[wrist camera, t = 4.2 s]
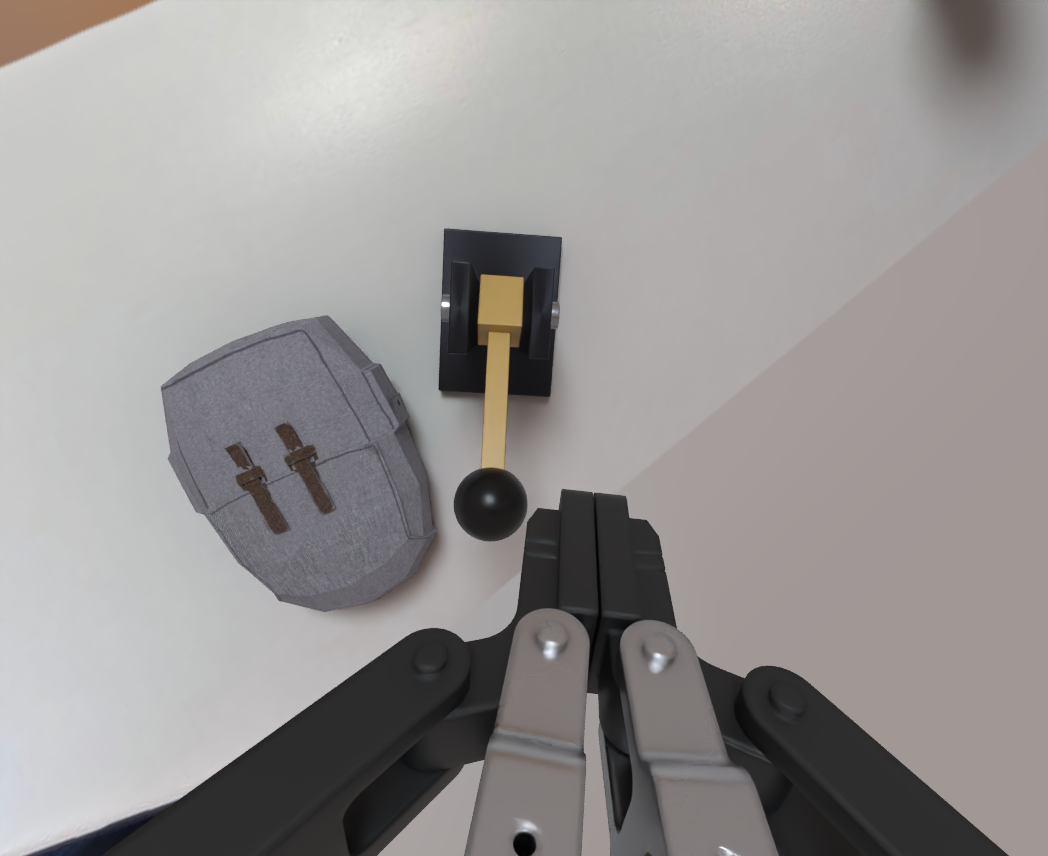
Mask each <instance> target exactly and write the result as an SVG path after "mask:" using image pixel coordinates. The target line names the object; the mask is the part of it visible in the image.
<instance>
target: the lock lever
mask: <svg viewBox="0 0 1048 856" xmlns="http://www.w3.org/2000/svg"><path fill="white" fill-rule="evenodd" d="M523 293H524V278H523V277H511V276H496V275H481V277H480V293H479V308H478V345H488V350H487V367H486V385H485V403H484V420H483V438H482V456H481V469H478V470H476V471H474V472H472V473H470V474H469V475H468V476H466V477H465V478H464V479H463V481H462V482H461V483H460V485H459V487H458V488H457V491H456V494H455V498H454V512H455V516H456V518H457V521H458V523H459V524H460V526H461V527H462V528H463V530H465V531H466V532H467V533H468V534H469V535H471V536H472V537H474V538H476V539H479V540H482V541H499V540H502V539H505V538H507V537H509V536H510V535H512V534H513V533H514V532H515V531H517V529H518V528H519V527H520V526H521V524H522V523H523V521H524V519H525V516H526V512H527V495H526V492H525V489H524V487H523V485H522V484H521V482H520V481H519V480H518V479H517V478H516V477H515V476H514V475H513V474H511V473H510V472H508V471H506V470H505V447H506V424H507V400H508V377H509V354H510V347H519V344H520V338H521V331H522V321H523Z"/></svg>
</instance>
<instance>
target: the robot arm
mask: <svg viewBox="0 0 1048 856" xmlns="http://www.w3.org/2000/svg"><path fill="white" fill-rule="evenodd" d="M587 693H594V694H598V699H599V719H600V724H599V742H600V751H601V760H602V769H603V778H604V788H605V796H606V805H607V813H608V823H609V832H610V856H1008V855H1007V854H1006V853H1005V852H1004V851H1003V850H1002V849H1000V848H999V847H998V846H997V845H996V844H995V843H993V842H992V841H991V840H990V839H989V838H988V837H987V836H985V835H984V834H983V833H982V832H981V831H980V830H978V829H977V828H976V827H975V826H974V825H973V824H971V823H970V822H969V821H968V820H967V819H966V818H965V817H963V816H962V815H961V814H960V813H959V812H958V811H956V810H955V809H954V808H953V807H952V806H951V805H950V804H948V803H947V802H946V801H945V800H944V799H943V798H941V797H940V796H939V795H938V794H937V793H936V792H935V791H933V790H932V789H931V788H930V787H929V786H928V785H926V784H925V783H924V782H923V781H922V780H921V779H919V778H918V777H917V776H916V775H915V774H913V773H912V772H911V771H910V770H909V769H908V768H907V767H906V766H904V765H903V764H902V763H901V762H900V761H899V760H898V759H896V758H895V757H894V756H893V755H892V754H890V753H889V752H888V751H887V750H886V749H885V748H884V747H882V746H881V745H880V744H879V743H878V742H877V741H876V740H874V739H873V738H872V737H871V736H870V735H868V734H867V733H866V732H865V731H864V730H863V729H862V728H860V727H859V726H858V725H857V724H856V723H855V722H853V721H852V720H851V719H850V718H849V717H848V716H847V715H845V714H844V713H843V712H842V711H841V710H840V709H838V708H837V707H836V706H835V705H834V704H833V703H831V702H830V701H829V700H828V699H827V698H826V697H825V696H823V695H822V694H821V693H820V692H819V691H818V690H816V689H815V688H814V687H813V686H812V685H811V684H809V683H808V682H807V681H806V680H804V679H803V678H802V677H800V676H798V675H797V674H795V673H793V672H791V671H789V670H786V669H783V668H780V667H775V666H761V667H758V668H755V669H753V670H752V671H750V672H749V673H748V674H747V676H746V678H742V677H740V676H737V675H735V674H732V673H730V672H727V671H725V670H722V669H720V668H717V667H715V666H713V665H711V664H709V663H707V662H705V661H704V660H702V659H700V658H699V657H698V656H697V654H696V651H695V649H694V647H693V645H692V644H691V642H690V641H689V639H688V638H687V637H686V636H685V635H684V634H683V633H682V632H680V631H679V630H678V629H677V626H676V622H675V617H674V612H673V606H672V601H671V596H670V592H669V586H668V581H667V576H666V572H665V566H664V561H663V557H662V550H661V545H660V540H659V536H658V535H657V533H656V532H655V531H654V529H653V528H652V527H651V525H650V524H649V522H648V521H647V520H641V519H632V518H629V513H628V506H627V499H626V496H621V495H612V494H603V493H594V495H593V493H592V492H585V491H576V490H567V489H562V491H561V497H560V505H559V510H551V509H542V508H538V509H537V510H536V511H535V513H534V514H533V515H532V517H531V518H530V519H529V520H528V522H527V530H526V538H525V547H524V556H523V564H522V573H521V582H520V590H519V599H518V607H517V612H516V615H515V617H514V619H513V620H512V622H511V623H510V624H509V625H508V627H506V628H505V629H504V630H503V631H501V632H500V633H498V634H496V635H494V636H491V637H489V638H484V639H480V640H474V641H469V642H464V641H463V640H462V639H461V638H460V637H459V636H457V635H456V634H454V633H452V632H450V631H448V630H445V629H439V628H428V629H422V630H419V631H416V632H414V633H411V634H410V635H408V636H406V637H405V638H404V639H402V640H401V641H399V642H398V643H397V644H395V645H394V646H392V647H391V648H390V649H388V650H387V651H385V652H384V653H383V654H381V655H380V656H378V657H377V658H376V659H374V660H373V661H372V662H370V663H369V664H367V665H366V666H365V667H363V668H362V669H360V670H359V671H358V672H356V673H355V674H353V675H352V676H351V677H349V678H348V679H346V680H345V681H344V682H342V683H341V684H339V685H338V686H337V687H335V688H334V689H333V690H331V691H330V692H328V693H327V694H326V695H324V696H323V697H321V698H320V699H319V700H317V701H316V702H314V703H313V704H312V705H310V706H309V707H307V708H306V709H305V710H303V711H302V712H300V713H299V714H298V715H296V716H295V717H294V718H292V719H291V720H289V721H288V722H287V723H285V724H284V725H282V726H281V727H280V728H278V729H277V730H275V731H274V732H273V733H271V734H270V735H268V736H267V737H266V738H264V739H263V740H261V741H260V742H259V743H257V744H256V745H255V746H253V747H252V748H250V749H249V750H248V751H246V752H245V753H243V754H242V755H241V756H239V757H238V758H236V759H235V760H234V761H232V762H231V763H229V764H228V765H227V766H225V767H224V768H222V769H221V770H220V771H218V772H217V773H216V774H214V775H213V776H211V777H210V778H209V779H207V780H206V781H204V782H203V783H202V784H200V785H199V786H197V787H196V788H195V789H193V790H192V791H190V792H189V793H188V794H186V795H185V796H183V797H182V798H181V799H179V800H178V801H177V802H175V803H174V804H172V805H171V806H170V807H168V808H167V809H165V810H164V811H163V812H161V813H160V814H158V815H157V816H156V817H154V818H153V819H151V820H150V821H149V822H147V823H146V824H145V825H143V826H142V827H140V828H139V829H138V830H136V831H135V832H133V833H132V834H131V835H129V836H128V837H126V838H125V839H124V840H122V841H121V842H119V843H118V844H117V845H115V846H114V847H112V848H111V849H110V850H108V851H107V852H106V853H104V854H103V855H101V856H377V855H378V854H379V853H380V852H381V851H382V850H383V849H384V848H385V847H386V846H387V845H388V844H389V843H390V842H391V841H392V840H393V839H394V838H395V837H396V836H397V835H398V834H399V833H400V832H401V831H402V830H403V829H404V828H405V827H406V826H407V825H408V824H409V823H410V822H411V821H412V820H413V819H414V818H415V817H416V816H417V815H418V814H419V813H420V812H421V811H422V810H423V809H424V808H425V807H426V806H427V805H428V804H429V803H430V802H431V801H432V800H433V799H434V798H435V797H436V796H437V795H438V794H439V793H440V792H441V791H442V790H443V789H444V788H445V787H446V786H447V785H448V784H449V783H450V782H451V781H452V780H453V779H454V778H455V777H456V776H457V775H458V774H459V772H460V771H461V769H462V768H463V766H464V764H468V763H473V762H477V761H481V760H485V761H484V765H483V769H482V775H481V779H480V784H479V789H478V793H477V798H476V803H475V807H474V812H473V816H472V821H471V826H470V830H469V835H468V840H467V845H466V849H465V855H464V856H581V850H582V832H583V830H582V829H583V813H584V795H585V778H586V777H585V776H586V756H585V753H584V729H585V712H586V696H587Z"/></svg>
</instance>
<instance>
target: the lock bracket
mask: <svg viewBox="0 0 1048 856" xmlns="http://www.w3.org/2000/svg"><path fill="white" fill-rule="evenodd" d="M561 243H562V238H561V237H551V236H538V235H525V234H512V233H498V232H485V231H472V230H459V229H444V250H443V279H442V300H441V336H440V365H439V390H440V391H457V392H475V393H485V385H486V367H487V350H488V345H478V308H479V293H480V277H481V275H496V276H511V277H523V278H524V293H523V321H522V331H521V338H520V344H519V347H510V354H509V377H508V394H510V395H528V396H545V397H550V394H551V380H552V366H553V352H554V339H555V329H557V327H558V323H559V311H560V306H559V302H557V298H558V284H559V270H560V256H561Z"/></svg>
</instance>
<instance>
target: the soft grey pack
mask: <svg viewBox="0 0 1048 856" xmlns="http://www.w3.org/2000/svg"><path fill="white" fill-rule="evenodd" d="M161 392H162V398H163V405H164V411H165V418H166V425H167V431H168V438H169V445H170V451H171V453H170V455H169V457H168V460H169V462H170V464H171V466H172V468H173V470H174V472H175V473H176V475H177V477H178V479H179V481H180V483H181V485H182V487H183V489H184V490H185V492H186V494H187V496H188V498H189V500H190V502H191V504H192V506H193V507H194V509H195V511H196V512H197V513H201V514H204V515H205V516H206V518H207V519H208V520H209V522H210V523H211V525H212V526H213V527H214V529H215V530H216V532H217V533H218V535H219V536H220V537H221V539H222V540H223V542H224V543H225V545H226V546H227V547H228V549H229V550H230V552H231V553H232V555H233V556H234V557H235V559H236V560H237V562H238V563H239V564H240V565H242V566H243V567H244V568H245V569H247V570H248V571H249V572H250V573H251V574H253V575H254V576H255V577H256V578H257V579H258V580H259V581H260V582H262V583H263V584H264V585H265V586H266V587H267V588H268V589H269V590H271V591H272V592H273V593H274V594H275V596H276V597H277V599H278V600H279V601H282V602H286V603H291V604H295V605H299V606H303V607H307V608H311V609H315V610H319V611H324V612H326V611H331V610H336V609H341V608H346V607H351V606H356V605H361V604H366V603H370V602H373V601H375V600H378V599H380V598H381V597H383V596H384V595H385V594H387V593H388V592H390V591H391V590H392V589H394V588H395V587H397V586H398V585H399V584H401V583H402V582H404V581H405V580H406V579H408V578H409V577H411V576H412V575H413V574H415V573H416V571H417V569H418V567H419V565H420V563H421V561H422V559H423V557H424V555H425V553H426V551H427V549H428V547H429V545H430V543H431V541H432V539H433V537H434V535H435V533H436V530H435V526H434V523H433V519H432V516H431V509H430V500H429V492H428V483H427V474H426V470H425V467H424V465H423V463H422V460H421V458H420V456H419V453H418V451H417V449H416V446H415V444H414V442H413V439H412V437H411V435H410V432H409V430H408V428H407V425H406V423H405V422H406V420H407V419H408V417H409V415H408V413H407V410H406V408H405V405H404V403H403V400H402V398H401V396H400V393H398V394H397V393H396V391H395V389H394V388H393V386H392V384H391V382H390V380H389V378H388V376H387V375H386V373H385V371H384V369H383V367H382V365H381V364H377V363H373V362H372V361H371V360H370V359H369V358H368V357H367V356H366V355H365V354H364V353H363V352H362V350H361V349H360V348H359V347H358V346H357V345H356V344H355V343H354V342H353V341H352V340H351V339H350V338H349V337H348V336H347V335H346V334H345V332H344V331H343V330H342V329H341V328H340V327H339V326H338V325H337V324H336V323H335V322H334V321H333V320H332V319H331V318H330V317H329V316H328V315H327V316H321V317H315V318H310V319H304V320H298V321H292V322H287V323H283V324H280V325H277V326H274V327H271V328H268V329H266V330H263V331H260V332H257V333H254V334H252V335H249V336H246V337H243V338H241V339H238V340H235V341H232V342H230V343H228V344H226V345H224V346H222V347H221V348H219V349H217V350H215V351H213V352H211V353H209V354H207V355H205V356H203V357H201V358H200V359H198V360H196V361H194V362H192V363H190V364H189V365H187V366H186V367H185V368H184V369H182V370H181V371H180V372H178V373H177V374H176V375H175V376H173V377H172V378H171V379H170V380H168V381H167V382H166V383H165V384H163V385H162V386H161Z"/></svg>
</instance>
